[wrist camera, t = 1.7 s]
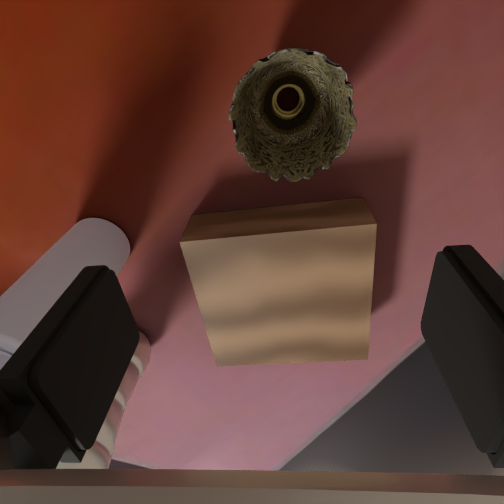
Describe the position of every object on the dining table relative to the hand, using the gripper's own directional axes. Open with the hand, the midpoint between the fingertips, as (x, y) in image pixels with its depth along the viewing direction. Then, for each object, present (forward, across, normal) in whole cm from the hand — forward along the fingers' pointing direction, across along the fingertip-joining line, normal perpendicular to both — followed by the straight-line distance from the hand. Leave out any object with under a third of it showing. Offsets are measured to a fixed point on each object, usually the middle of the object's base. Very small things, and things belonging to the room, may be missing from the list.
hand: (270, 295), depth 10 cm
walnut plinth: (+21, 0, +15) cm, 26 cm away
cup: (+21, -1, -2) cm, 21 cm away
